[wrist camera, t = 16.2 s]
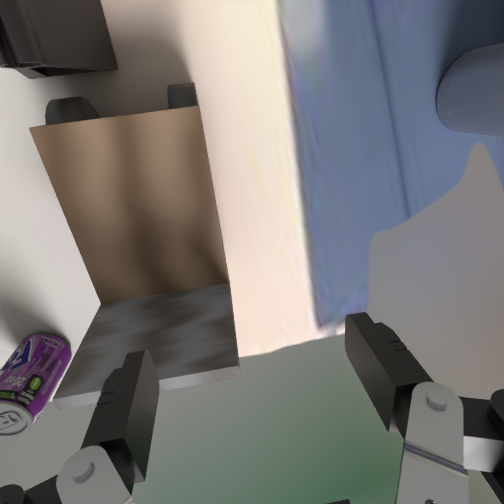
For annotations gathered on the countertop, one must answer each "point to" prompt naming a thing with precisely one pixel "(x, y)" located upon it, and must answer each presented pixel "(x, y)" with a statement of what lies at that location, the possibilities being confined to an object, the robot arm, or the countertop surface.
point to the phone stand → (54, 37)
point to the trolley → (143, 241)
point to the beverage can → (30, 381)
